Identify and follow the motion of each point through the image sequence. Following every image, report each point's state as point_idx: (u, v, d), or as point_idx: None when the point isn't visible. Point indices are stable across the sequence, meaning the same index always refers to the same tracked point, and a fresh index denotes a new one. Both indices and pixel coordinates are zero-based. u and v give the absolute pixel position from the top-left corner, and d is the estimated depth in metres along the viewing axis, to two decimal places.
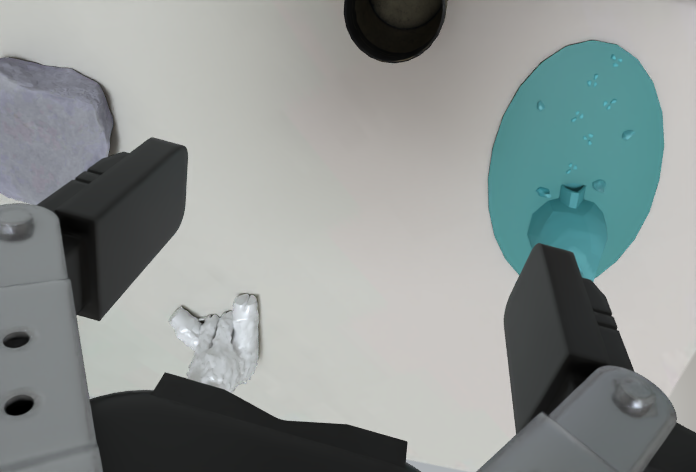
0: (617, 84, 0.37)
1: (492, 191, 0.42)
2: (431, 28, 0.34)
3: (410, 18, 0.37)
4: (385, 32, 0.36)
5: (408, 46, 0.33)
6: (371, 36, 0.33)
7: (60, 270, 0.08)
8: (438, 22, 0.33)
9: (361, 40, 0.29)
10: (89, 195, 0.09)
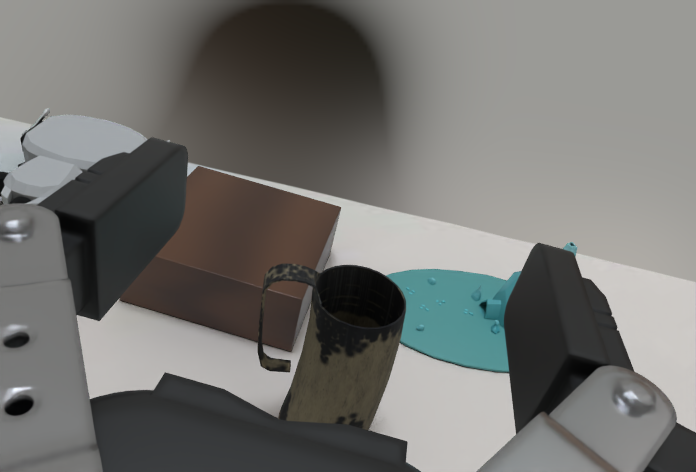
0: None
1: (508, 367, 0.42)
2: None
3: None
4: None
5: None
6: (377, 391, 0.30)
7: (60, 270, 0.08)
8: None
9: (386, 349, 0.28)
10: (89, 195, 0.09)
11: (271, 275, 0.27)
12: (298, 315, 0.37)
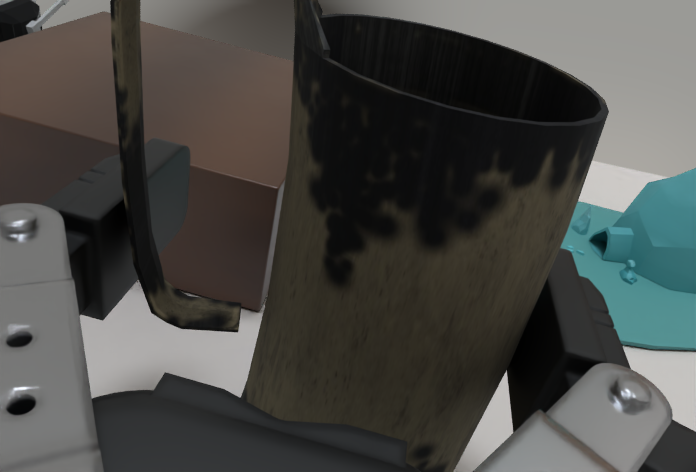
0: None
1: (672, 340, 0.22)
2: None
3: None
4: None
5: None
6: None
7: (64, 270, 0.08)
8: None
9: None
10: (93, 195, 0.09)
11: None
12: (271, 228, 0.17)
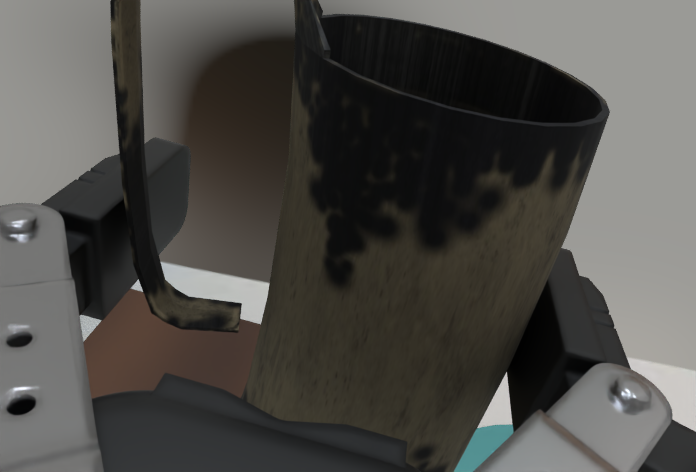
0: None
1: None
2: None
3: None
4: None
5: None
6: None
7: (64, 270, 0.08)
8: None
9: None
10: (93, 195, 0.09)
11: None
12: None
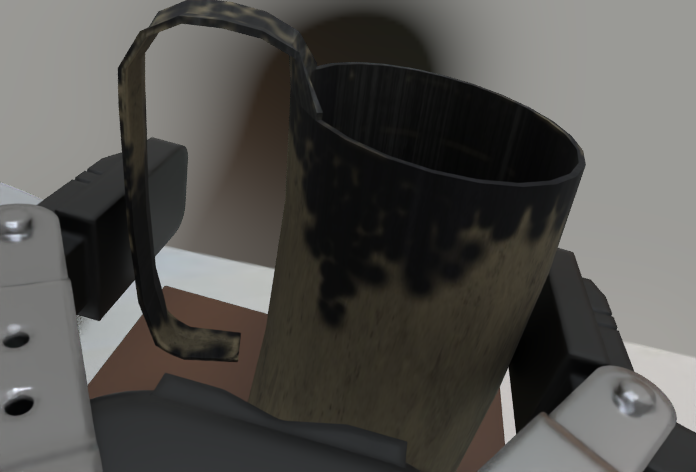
0: None
1: None
2: None
3: None
4: None
5: None
6: None
7: (60, 270, 0.08)
8: None
9: None
10: (89, 195, 0.09)
11: None
12: None
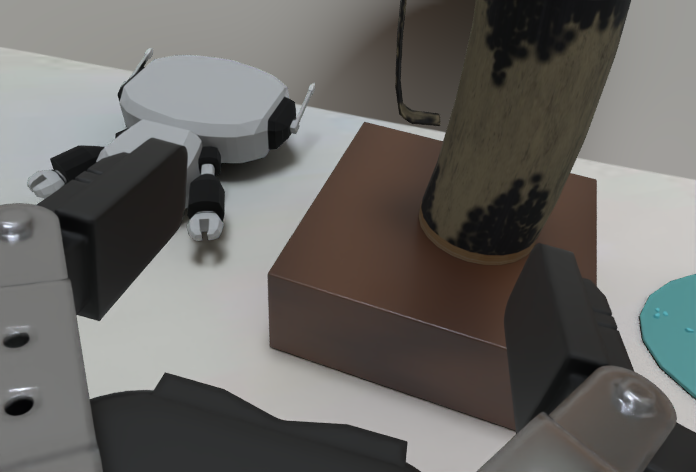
0: (688, 310, 0.29)
1: None
2: None
3: None
4: None
5: None
6: None
7: (60, 270, 0.08)
8: None
9: None
10: (89, 195, 0.09)
11: None
12: None
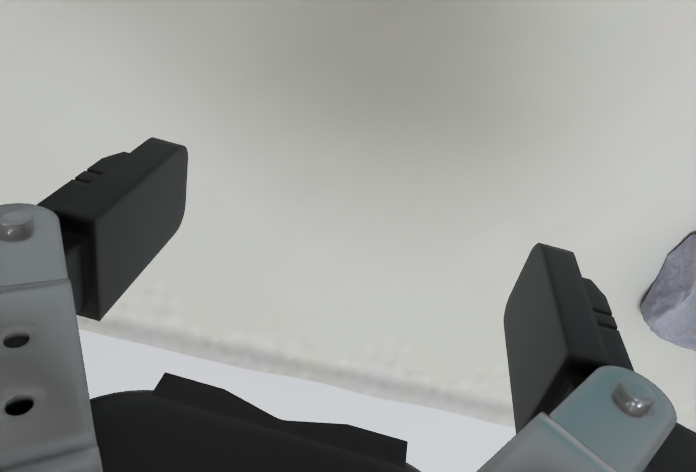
0: None
1: None
2: None
3: None
4: None
5: None
6: None
7: (60, 270, 0.08)
8: None
9: None
10: (89, 195, 0.09)
11: None
12: None
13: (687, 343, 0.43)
